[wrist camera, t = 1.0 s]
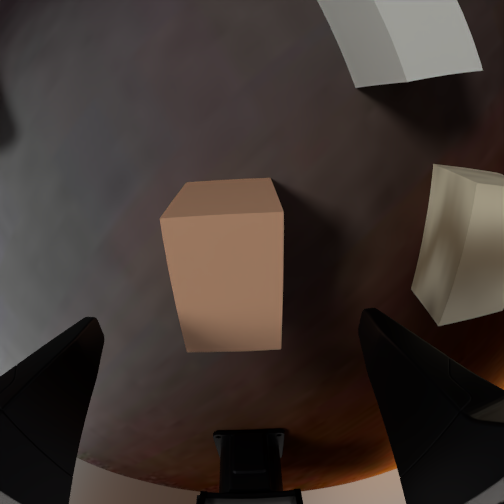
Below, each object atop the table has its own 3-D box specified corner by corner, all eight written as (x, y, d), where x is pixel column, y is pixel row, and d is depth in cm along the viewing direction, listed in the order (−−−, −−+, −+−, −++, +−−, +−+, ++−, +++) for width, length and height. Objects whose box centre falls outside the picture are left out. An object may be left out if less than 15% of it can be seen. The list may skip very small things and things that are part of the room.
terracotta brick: (271, 285, 17) (281, 349, 12) (199, 287, 17) (187, 352, 12) (270, 177, 14) (283, 212, 9) (186, 182, 14) (159, 218, 9)
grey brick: (419, 73, 11) (482, 70, 7) (355, 88, 12) (407, 81, 7) (376, -25, 9) (422, -61, 4) (307, -17, 9) (334, -65, 5)
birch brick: (472, 279, 17) (502, 310, 14) (409, 287, 17) (438, 326, 14) (496, 172, 14) (538, 191, 10) (431, 163, 14) (476, 182, 10)
